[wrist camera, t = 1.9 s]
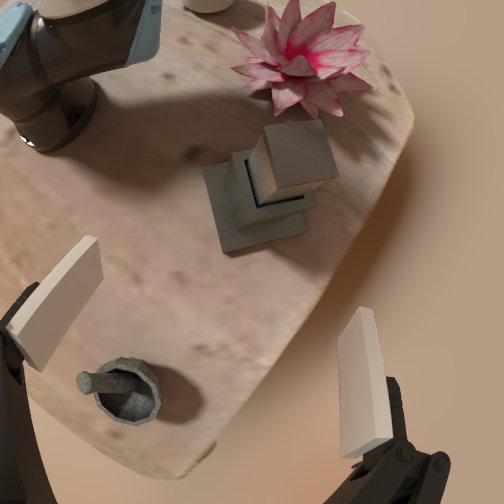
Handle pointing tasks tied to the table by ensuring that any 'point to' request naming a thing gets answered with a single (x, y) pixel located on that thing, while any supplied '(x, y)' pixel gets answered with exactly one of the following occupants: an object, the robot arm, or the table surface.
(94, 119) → the table surface
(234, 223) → the sleeve
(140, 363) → the mortar and pestle
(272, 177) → the steel post
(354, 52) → the decorative flower
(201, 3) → the teacup
